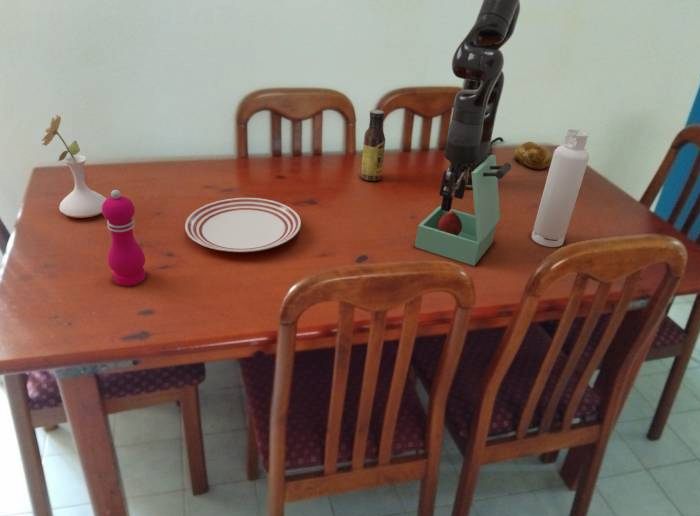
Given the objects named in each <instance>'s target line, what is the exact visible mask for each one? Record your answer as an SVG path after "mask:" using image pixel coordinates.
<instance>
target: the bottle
mask: <svg viewBox="0 0 700 516" xmlns="http://www.w3.org/2000/svg"><path fill="white" fill-rule="evenodd" d="M577 134H578V135H577ZM579 134H583V135H579ZM588 137H589V133H588V132H586V131H584V130H581V129H574V128H572V129H568V130H566V134H565V137H564V142H563V144H561V145H559V146H557V147H556V148H555V149H554V151H553V153H552V156H551V162H550V164H549V169H548V173H547V176H546V181H545V184H544V188H543V192H542V195H541V198H540V203H539V206H538V210H537V214H536V218H535V221H534V224H533V229H532V232H531V235H530V237H531V239H532V241H533V242H535V244H539V245H541V246H544V247H549V248H558V247H562V246H563V244H564V242H565V239H566V235H567V232H568V228H569V225H570V222H571V218H572V216H573V212H574V209H575V206H576V202H577V199H578V196H579V192H580V189H581V187H582V182H583V179H584V177H585V172H586V169H587V167H588V163H589V160H590V154H589V151H587V149H586V148H585V147H586V144H587V140H588Z"/></svg>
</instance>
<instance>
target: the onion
mask: <svg viewBox="0 0 700 516" xmlns="http://www.w3.org/2000/svg"><path fill="white" fill-rule="evenodd" d="M453 210H454V209H453ZM453 210H450V212H449V213H447V214H445V215H444V216H442V218H441V219H440V220H439V223H438V230H440V231H444V232H447V233H450V234H454V235H457V236H458V235H459V233H460V232H461V230H462V222H461V220H460V218H459V217H458V215H456V214H455V213H454V211H453Z"/></svg>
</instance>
